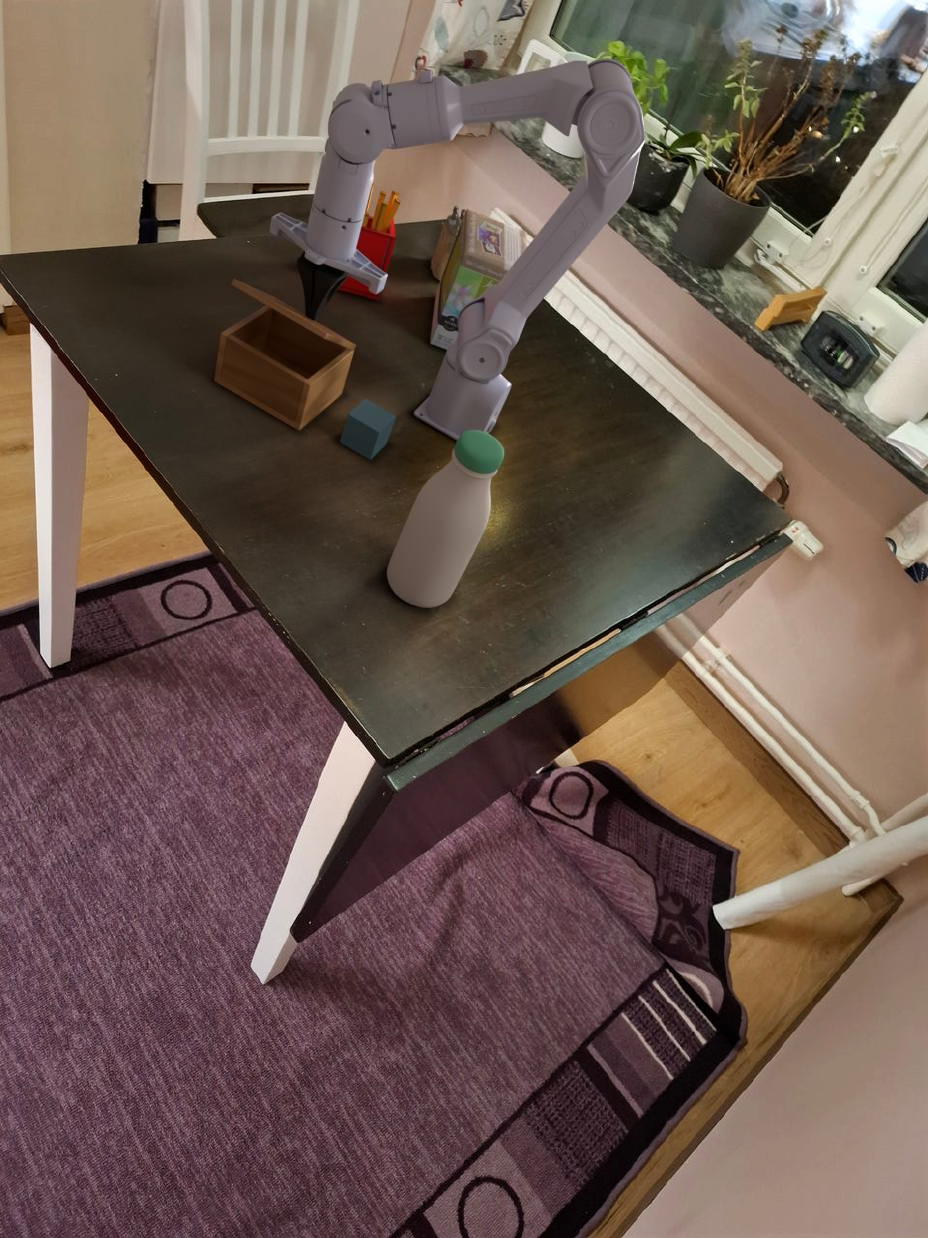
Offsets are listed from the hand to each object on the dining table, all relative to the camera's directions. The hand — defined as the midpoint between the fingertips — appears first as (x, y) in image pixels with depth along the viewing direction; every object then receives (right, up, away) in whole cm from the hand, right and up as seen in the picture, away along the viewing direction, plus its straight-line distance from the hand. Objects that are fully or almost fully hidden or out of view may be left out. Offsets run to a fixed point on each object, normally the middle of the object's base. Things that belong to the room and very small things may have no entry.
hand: (313, 315), depth 101 cm
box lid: (-1, -2, -4) cm, 5 cm away
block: (+6, -15, +2) cm, 16 cm away
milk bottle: (+13, -33, -10) cm, 37 cm away
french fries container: (+1, +14, +24) cm, 27 cm away
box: (-5, -8, +3) cm, 10 cm away
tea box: (+18, +7, +27) cm, 33 cm away
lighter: (+15, +20, +36) cm, 44 cm away
